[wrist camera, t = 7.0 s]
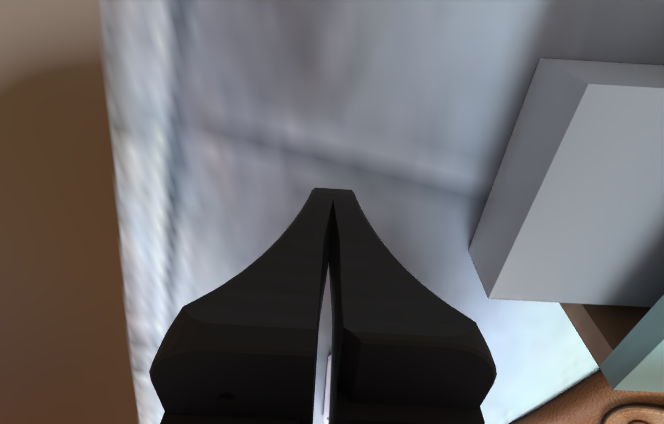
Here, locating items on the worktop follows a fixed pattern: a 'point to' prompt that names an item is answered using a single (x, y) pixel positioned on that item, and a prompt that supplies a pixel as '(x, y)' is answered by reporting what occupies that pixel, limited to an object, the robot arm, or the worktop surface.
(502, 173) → the flat grey cuboid
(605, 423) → the sunglasses case
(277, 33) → the worktop surface
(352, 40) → the worktop surface
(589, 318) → the overhang bridge
